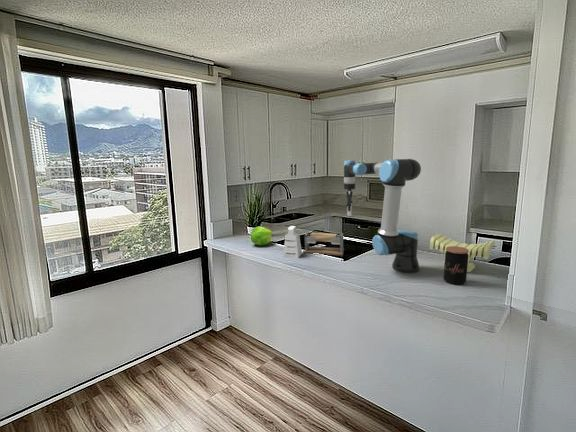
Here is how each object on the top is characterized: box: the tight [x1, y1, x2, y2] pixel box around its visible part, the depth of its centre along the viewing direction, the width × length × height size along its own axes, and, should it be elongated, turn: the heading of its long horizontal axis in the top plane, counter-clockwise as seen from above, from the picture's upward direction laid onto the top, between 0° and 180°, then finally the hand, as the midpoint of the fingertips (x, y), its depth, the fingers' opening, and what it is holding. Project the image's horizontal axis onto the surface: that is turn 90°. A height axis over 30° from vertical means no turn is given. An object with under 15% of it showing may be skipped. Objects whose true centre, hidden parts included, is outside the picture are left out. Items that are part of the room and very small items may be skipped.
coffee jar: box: [443, 246, 469, 286], centre depth 169 cm, size 11×11×18 cm
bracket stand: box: [303, 231, 345, 256], centre depth 227 cm, size 13×27×13 cm, turn 76°
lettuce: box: [250, 225, 273, 246], centre depth 248 cm, size 15×20×14 cm
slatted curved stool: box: [429, 231, 496, 273], centre depth 189 cm, size 30×16×18 cm, turn 47°
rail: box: [310, 232, 338, 243], centre depth 226 cm, size 4×18×5 cm, turn 71°
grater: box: [282, 225, 303, 259], centre depth 219 cm, size 10×10×20 cm
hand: (349, 214), depth 223 cm, fingers open, 13 cm apart
